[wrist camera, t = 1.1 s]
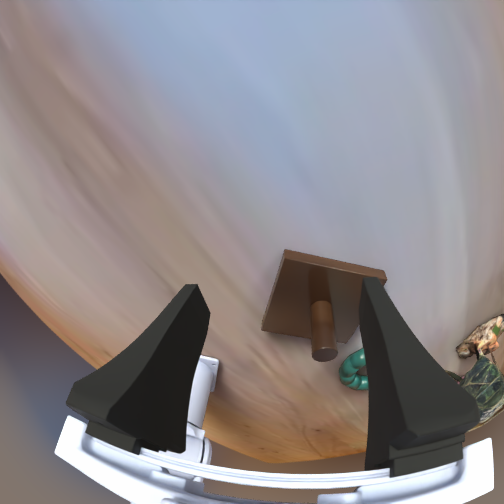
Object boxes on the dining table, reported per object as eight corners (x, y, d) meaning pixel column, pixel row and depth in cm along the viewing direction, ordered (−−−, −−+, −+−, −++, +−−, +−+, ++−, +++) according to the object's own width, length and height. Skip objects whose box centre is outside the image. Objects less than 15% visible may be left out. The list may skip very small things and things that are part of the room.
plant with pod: (440, 340, 27) (473, 488, 11) (509, 304, 23) (560, 435, 6) (440, 367, 31) (463, 489, 14) (501, 336, 26) (537, 449, 10)
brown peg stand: (345, 334, 27) (351, 385, 22) (261, 321, 27) (255, 374, 22) (384, 270, 22) (403, 325, 17) (284, 248, 22) (282, 306, 17)
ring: (387, 381, 33) (389, 393, 31) (327, 377, 33) (327, 390, 31) (425, 341, 27) (429, 354, 26) (360, 335, 27) (362, 349, 25)
